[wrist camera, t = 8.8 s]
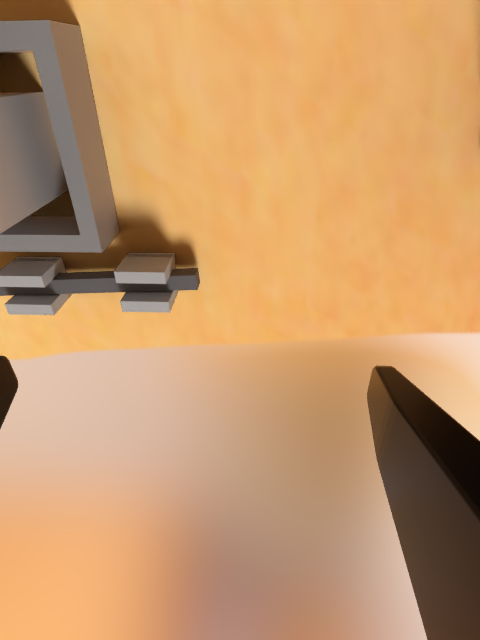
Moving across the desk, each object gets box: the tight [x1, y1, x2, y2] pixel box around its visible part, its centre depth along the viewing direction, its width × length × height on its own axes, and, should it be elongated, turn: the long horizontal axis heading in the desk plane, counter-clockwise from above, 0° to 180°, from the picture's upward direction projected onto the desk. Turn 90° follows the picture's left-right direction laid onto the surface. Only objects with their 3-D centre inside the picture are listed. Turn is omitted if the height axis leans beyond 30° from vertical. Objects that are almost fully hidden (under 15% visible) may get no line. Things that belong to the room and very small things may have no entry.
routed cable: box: [0, 253, 200, 315], centre depth 20 cm, size 11×2×2 cm, turn 91°
